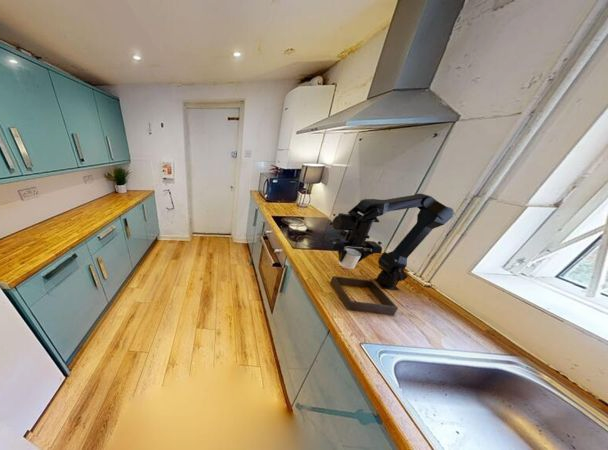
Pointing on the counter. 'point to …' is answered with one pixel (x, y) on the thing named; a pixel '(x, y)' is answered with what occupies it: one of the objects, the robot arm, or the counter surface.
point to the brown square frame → (385, 308)
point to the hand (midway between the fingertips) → (347, 262)
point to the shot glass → (350, 258)
